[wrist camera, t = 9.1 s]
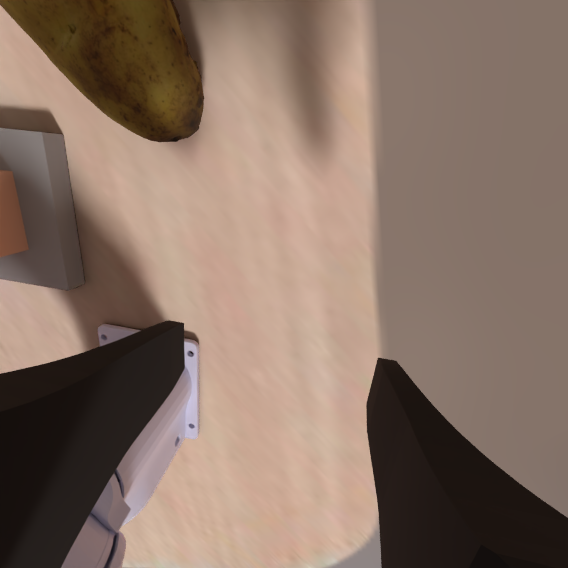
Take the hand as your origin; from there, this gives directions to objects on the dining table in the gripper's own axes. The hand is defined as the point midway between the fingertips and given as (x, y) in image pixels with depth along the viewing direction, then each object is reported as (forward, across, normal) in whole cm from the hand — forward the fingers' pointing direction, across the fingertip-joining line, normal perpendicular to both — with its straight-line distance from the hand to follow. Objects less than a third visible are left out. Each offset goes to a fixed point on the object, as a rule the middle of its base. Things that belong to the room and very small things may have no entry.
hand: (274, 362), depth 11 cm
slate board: (+9, +21, -2) cm, 23 cm away
